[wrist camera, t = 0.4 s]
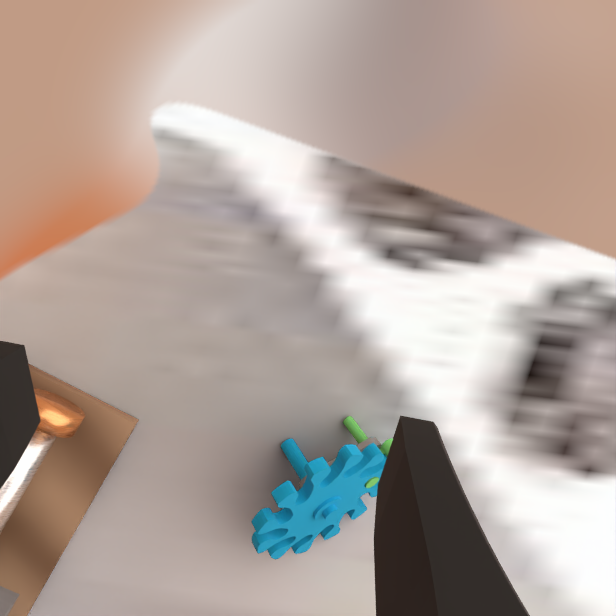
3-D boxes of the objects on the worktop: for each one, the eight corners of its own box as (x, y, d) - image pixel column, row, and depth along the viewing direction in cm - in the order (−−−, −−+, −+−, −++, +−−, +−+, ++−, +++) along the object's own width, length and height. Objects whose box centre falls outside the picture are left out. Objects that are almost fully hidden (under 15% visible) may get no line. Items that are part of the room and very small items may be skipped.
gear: (273, 585, 36) (245, 528, 28) (236, 511, 39) (203, 443, 32) (408, 498, 39) (414, 426, 31) (362, 436, 42) (358, 360, 35)
